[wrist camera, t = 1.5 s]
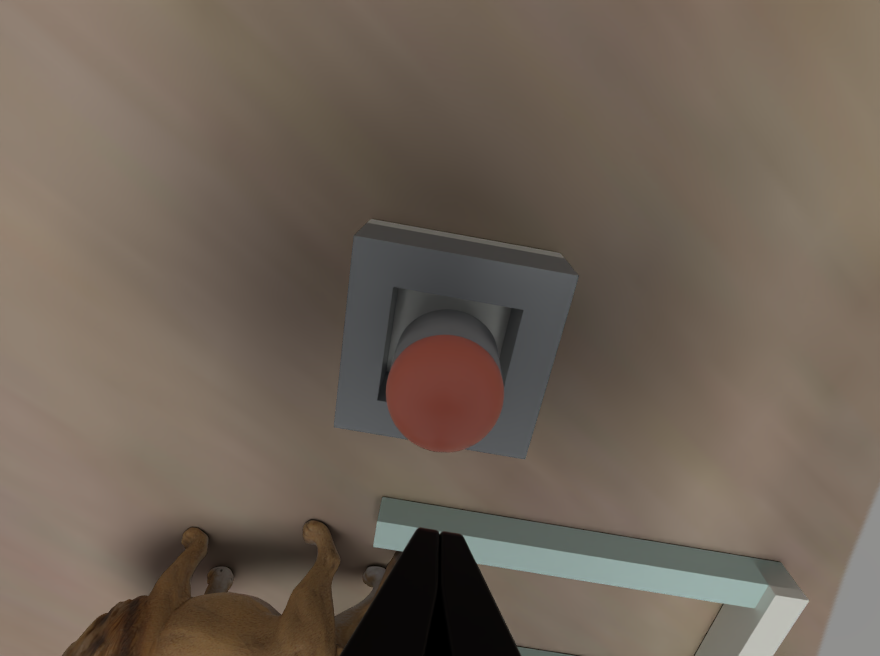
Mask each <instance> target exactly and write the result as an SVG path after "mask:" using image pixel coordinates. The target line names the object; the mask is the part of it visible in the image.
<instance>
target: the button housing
mask: <svg viewBox="0 0 880 656" xmlns="http://www.w3.org/2000/svg"><path fill="white" fill-rule="evenodd" d="M578 277H579V275H578V274H577V273H576V272H575V270H574V269H573V268H572V267H571V265H570V264H569V263H568V262H567V260H566V259H565V258H564V257H563V256H562V254H561V253H558V252H552V251H547V250H541V249H536V248H530V247H525V246H519V245H514V244H508V243H502V242H497V241H491V240H486V239H480V238H475V237H469V236H464V235H458V234H453V233H447V232H442V231H436V230H430V229H425V228H419V227H414V226H408V225H403V224H397V223H392V222H386V221H381V220H375V219H370V220H369V221H368V222H367V223H366V224H365V225H364V226H363V227H362V228H361V229H360V230H359V231H358V232H357V233H356V234H355V235H354V238H353V248H352V258H351V267H350V277H349V287H348V296H347V306H346V315H345V325H344V335H343V344H342V354H341V363H340V373H339V383H338V392H337V402H336V411H335V421H334V427H336V428H342V429H348V430H354V431H360V432H366V433H371V434H377V435H383V436H389V437H395V438H401V439H407V438H406V437H405V436H404V435H403V434H402V433H401V432H400V431H399V429H398V428H397V427H396V425H395V424H394V422H393V420H392V418H391V416H390V413H389V410H388V407H387V401H386V384H387V379H388V375H389V372H390V368H391V365H392V361H393V358H394V354H395V351H396V348H397V344H398V341H399V339H400V336H401V335H402V333H403V331H404V330H405V329H406V327H407V326H408V325H409V324H410V323H411V322H412V321H414V320H415V319H416V318H418V317H420V316H421V315H423V314H426V313H428V312H431V311H435V310H442V309H450V310H458V311H462V312H465V313H468V314H470V315H472V316H474V317H476V318H477V319H478V320H480V321H481V322H482V323H483V324H484V325H486V327H487V328H488V329H489V330H490V332H491V333H492V335H493V337H494V339H495V341H496V344H497V348H498V354H499V360H500V366H501V372H502V378H503V385H504V401H503V406H502V410H501V413H500V416H499V418H498V420H497V422H496V424H495V425H494V427H493V428H492V430H491V431H490V432H489V433H488V434H487V435H486V436H485V437H484V438H483V439H482V440H481V441H479V442H478V443H476V444H475V445H473V446H471V447H469V448H466V449H467V450H472V451H478V452H484V453H490V454H496V455H502V456H508V457H514V458H520V459H525V458H526V455H527V451H528V448H529V444H530V441H531V438H532V434H533V431H534V427H535V424H536V421H537V417H538V414H539V410H540V407H541V404H542V400H543V397H544V393H545V390H546V386H547V383H548V380H549V376H550V373H551V369H552V366H553V363H554V359H555V356H556V352H557V349H558V346H559V342H560V339H561V335H562V332H563V328H564V325H565V322H566V318H567V315H568V311H569V308H570V305H571V301H572V298H573V294H574V291H575V288H576V284H577V281H578ZM407 440H408V439H407Z"/></svg>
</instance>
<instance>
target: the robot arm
mask: <svg viewBox="0 0 880 656" xmlns="http://www.w3.org/2000/svg"><path fill="white" fill-rule="evenodd" d="M339 656H521V654H520V652H519V650H518V648H517V646H516V644H515V642H514V640H513V637H512V635H511V633H510V631H509V629H508V627H507V625H506V623H505V621H504V619H503V617H502V615H501V613H500V611H499V609H498V607H497V604H496V602H495V600H494V598H493V596H492V594H491V592H490V590H489V588H488V586H487V584H486V582H485V580H484V578H483V576H482V574H481V571H480V569H479V567H478V565H477V563H476V561H475V559H474V557H473V555H472V553H471V551H470V549H469V547H468V545H467V543H466V540H465V539H464V537H463V535H461V534H459V533H453V532H447V531H442V532H441V533H440V534H439V531H437V530H434V529H428V528H422V527H419V528H417V529H416V531H415V532H414V534H413V535H412V537H411V539H410V540H409V542H408V544H407V545H406V547H405V549H404V550H403V552H402V554H401V555H400V557H399V558H398V560H397V562H396V563H395V565H394V567H393V568H392V570H391V572H390V573H389V575H388V577H387V578H386V580H385V581H384V583H383V585H382V586H381V588H380V590H379V591H378V593H377V595H376V596H375V598H374V599H373V601H372V603H371V604H370V606H369V608H368V609H367V611H366V613H365V614H364V616H363V618H362V619H361V621H360V622H359V624H358V626H357V627H356V629H355V631H354V632H353V634H352V636H351V637H350V639H349V641H348V642H347V644H346V645H345V647H344V649H343V650H342V652H341V654H340V655H339Z"/></svg>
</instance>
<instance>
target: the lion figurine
mask: <svg viewBox="0 0 880 656" xmlns="http://www.w3.org/2000/svg"><path fill="white" fill-rule="evenodd" d="M303 538H304V541H305V542H306V543H308V544H312V545H316V546H317V549H318V555H317V559H316V562H315V564H314V566H313V567H312V568H311V570H310V571H309V572H308V573H307V575H306V576H305V577H304V578H303V580H302V581H301V582H300V583H299V584H298V585H297V586H296V588H295V589H294V590H293V592H292V594H291V596H290V598H289V601H288V603H287V606H286V608H285V610H284V612H283V614H282V615H281V614H280V613H279V612H278V611H276V610H275V609H274V608H273V607H272V606H271V605H270V604H268V603H267V602H265V601H263V600H261V599H259V598H257V597H254V596H250V595H245V594H238V593H231V592H228V590H229V589H230V587H231V586H232V584H233V581H234V576H233V574H232V571H231V570H230V569H229V568H227V567H215V568H213V569H211V570H210V571H209V573H208V575H207V577H208V580H207V583H208V584H209V585H208V587H207V589H206V591H205V593H204V595H201V596H196V597H191V585H190V580H191V577H192V575H193V573H194V571H195V569H196V567H197V566H198V564H199V563H200V562H201V560H202V559H203V558H204V557H205V556H206V554H207V551H208V547H207V546H208V536H207V535H206V534H205V533H204V532H203V531H201V530H200V529H198V528H189V529H187V530H186V531H185V532H184V533H183V538H182V545H184V547H185V549H186V550H185V551H184V552H183V553H182V554H181V555H180V556H179V557H178V558H177V559H176V561H175V562H174V563H173V564H172V565H171V566H170V567H169V568H168V569H167V570H166V571H165V572H164V573H163V574H162V575H161V577H160V578H159V579H158V581H157V583H156V584H155V586H154V588H153V590H152V592H151V593H150V595H149V596H145V595H144V596H139V597H137V598H135V599H133V600H130V599H128V600H126V601H124V602H119V603H118V604H117V605H115V606H114V607H113V608H112V609H111V610H110V611H109V612H108V613H105V614H103V615H101V616H99V617H98V618H97V619H96V620H95V621H94V622H93V623H92V624H91V625H90V626H89V627H88V628H87V629H86V630H85V632H84V633H83V634H82V635H81V636H80V638H79V639H78V640H77V641H75V642H74V643H72V644H71V645H70V646H69V647H68V648H67V650H66V651H65V652H64V653H63V655H62V656H339V655H340V654H341V652H342V650H343V649H344V647H345V645H346V644H347V642H348V641H349V639H350V637H351V636H352V634H353V632H354V631H355V629H356V627H357V626H358V624H359V622H360V621H361V619H362V618H363V616H364V614H365V613H366V611H367V609H368V608H369V606H370V604H371V603H372V601H373V599H374V598H375V596H376V595H377V593H378V591H379V590H380V588H381V586H382V585H383V583H384V581H385V580H386V578H387V577H388V575H389V573H390V572H391V570H392V568H393V567H394V565H395V563H396V562H397V560H398V558H399V557H400V555H401V554H402V551H397V552H396V553H395V554H394V556H393V558H392V559H391V561H390V562H389V564H388V565H387V568H386V569H384V568H382V567H377V566H372V567H368V568H367V570H366V571H365V572H364V575H363V581H364V583H365V584H367V585H368V586H369V587H373V589H372V591H371V592H370V594H369V595H368V596H367V597H366V598H365V599H364V600H363V601H361V602H360V603H359V604H357V605H356V606H354V607H351V608H349V609H348V610H346V611H344V612H342V613H340V614H338V615H336V616H334V607H333V599H332V590H331V584H332V579H333V576H334V574H335V572H336V571H337V569H338V567H339V565H340V557H339V554H338V552H337V550H336V547H335V545H334V542H333V539H332V536H331V533H330V531H329V529H328V528H327V526H325V525H324V524H323V523H321V522H318V521H314V520H311V521H309V522H307V523H306V524H305V525H304V527H303Z"/></svg>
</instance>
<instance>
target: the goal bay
mask: <svg viewBox="0 0 880 656" xmlns="http://www.w3.org/2000/svg"><path fill="white" fill-rule="evenodd" d="M419 527H422V528H428V529H434V530H437V531H439V534H440V533H441V532H442V531H447V532H453V533H459V534H461V535H463V537H464V539H465V540H466V543H467V545H468V547H469V549H470V551H471V553H472V555H473V557H474V559H475V561H476V563H477V564H482V565H489V566H495V567H501V568H507V569H513V570H519V571H526V572H532V573H538V574H544V575H550V576H557V577H563V578H569V579H575V580H581V581H587V582H594V583H600V584H606V585H612V586H618V587H625V588H631V589H637V590H643V591H649V592H655V593H662V594H668V595H674V596H680V597H686V598H693V599H699V600H705V601H711V602H717V603H724V605H723V606H722V608H721V610H720V612H719V613H718V615H717V617H716V619H715V620H714V622H713V624H712V626H711V628H710V629H709V631H708V633H707V635H706V636H705V638H704V640H703V642H702V643H701V645H700V647H699V649H698V651H697V652H696V654H695V656H773V655H774V653H775V652H776V650H777V649H778V647H779V646H780V644H781V643H782V641H783V640H784V638H785V637H786V635H787V634H788V632H789V631H790V629H791V628H792V626H793V624H794V623H795V621H796V620H797V618H798V617H799V615H800V614H801V612H802V611H803V609H804V608H805V606H806V605H807V603H808V602H809V600H808V598H807V597H806V596H805V594H804V593H803V592H802V590H801V589H800V587H799V586H798V585H797V583H796V582H795V581H794V579H793V578H792V577H791V575H790V574H789V573H788V571H787V570H786V569H785V567H784V566H783V564H782V563H781V562H775V561H769V560H763V559H757V558H751V557H745V556H739V555H733V554H727V553H721V552H714V551H708V550H702V549H696V548H690V547H684V546H678V545H672V544H666V543H660V542H654V541H648V540H642V539H636V538H629V537H623V536H617V535H611V534H605V533H599V532H593V531H587V530H581V529H575V528H569V527H563V526H557V525H551V524H544V523H538V522H532V521H526V520H520V519H514V518H508V517H502V516H496V515H490V514H484V513H478V512H472V511H466V510H459V509H453V508H447V507H441V506H435V505H429V504H423V503H417V502H411V501H405V500H399V499H393V498H387V497H382V501H381V506H380V511H379V515H378V520H377V526H376V532H375V538H374V545H373V547H377V548H383V549H390V550H396V551H402V552H403V550H404V549H405V547H406V545H407V544H408V542H409V540H410V539H411V537H412V535H413V534H414V532H415V531H416V529H417V528H419ZM517 648H518V650H519V652H520V654H521V656H574V655H568V654H561V653H555V652H549V651H542V650H536V649H529V648H523V647H517Z"/></svg>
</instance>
